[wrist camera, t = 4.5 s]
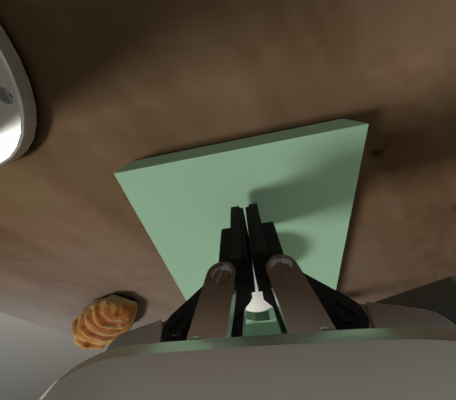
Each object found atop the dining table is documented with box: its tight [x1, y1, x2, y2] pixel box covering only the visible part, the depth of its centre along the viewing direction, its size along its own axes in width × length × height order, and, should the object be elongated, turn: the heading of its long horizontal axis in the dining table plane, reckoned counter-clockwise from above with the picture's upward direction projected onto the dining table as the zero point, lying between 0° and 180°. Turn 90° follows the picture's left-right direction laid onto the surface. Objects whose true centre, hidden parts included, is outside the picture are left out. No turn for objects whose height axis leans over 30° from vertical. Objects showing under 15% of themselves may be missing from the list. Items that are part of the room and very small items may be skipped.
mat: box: [114, 119, 369, 336], centre depth 16 cm, size 22×15×5 cm
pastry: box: [72, 295, 138, 350], centre depth 23 cm, size 9×7×4 cm
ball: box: [246, 262, 272, 312], centre depth 13 cm, size 4×4×4 cm
